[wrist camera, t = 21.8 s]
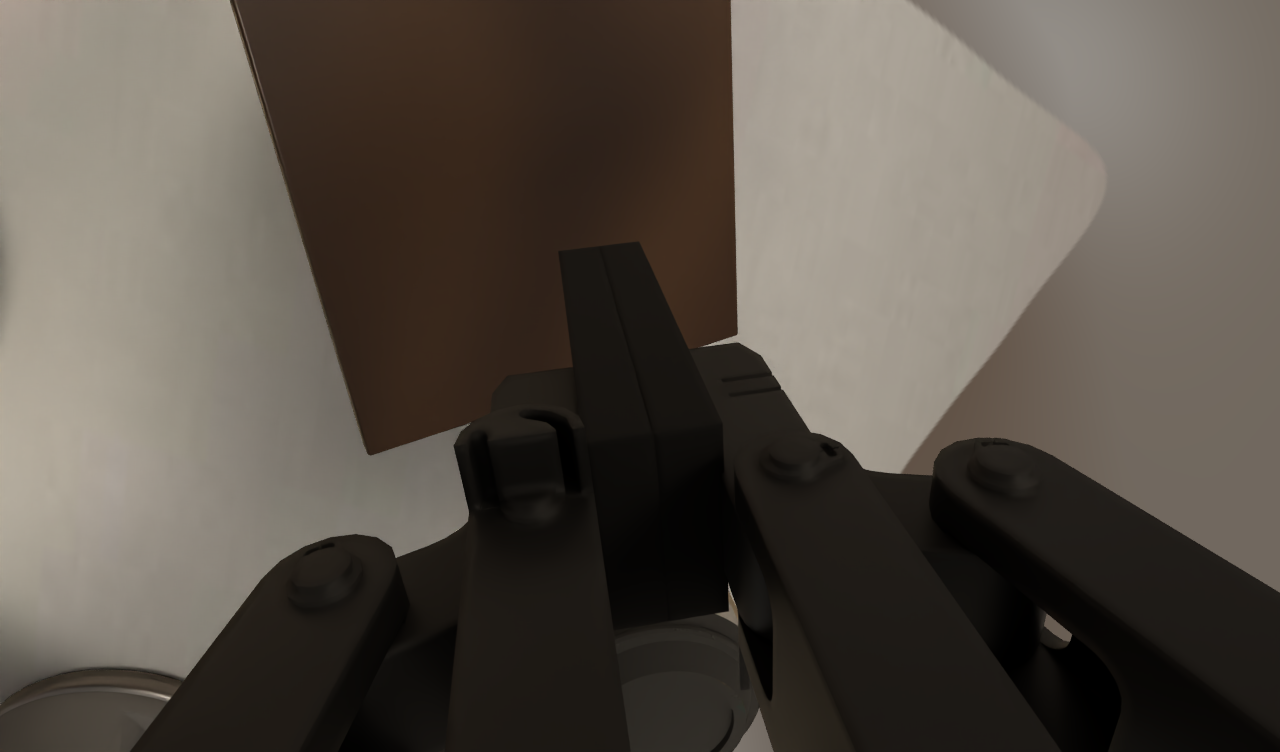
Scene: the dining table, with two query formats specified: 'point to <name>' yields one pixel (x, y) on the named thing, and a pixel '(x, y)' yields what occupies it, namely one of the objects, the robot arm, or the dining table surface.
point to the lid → (492, 179)
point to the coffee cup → (684, 684)
